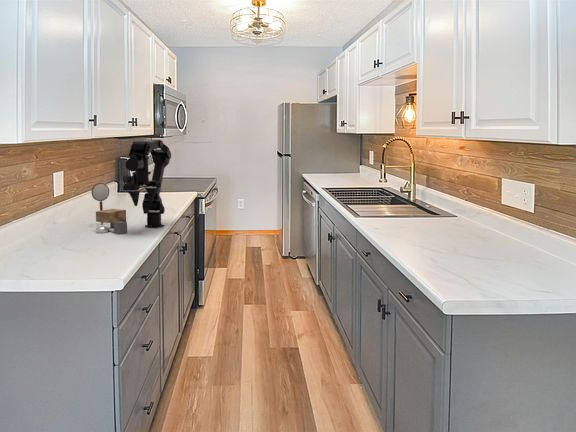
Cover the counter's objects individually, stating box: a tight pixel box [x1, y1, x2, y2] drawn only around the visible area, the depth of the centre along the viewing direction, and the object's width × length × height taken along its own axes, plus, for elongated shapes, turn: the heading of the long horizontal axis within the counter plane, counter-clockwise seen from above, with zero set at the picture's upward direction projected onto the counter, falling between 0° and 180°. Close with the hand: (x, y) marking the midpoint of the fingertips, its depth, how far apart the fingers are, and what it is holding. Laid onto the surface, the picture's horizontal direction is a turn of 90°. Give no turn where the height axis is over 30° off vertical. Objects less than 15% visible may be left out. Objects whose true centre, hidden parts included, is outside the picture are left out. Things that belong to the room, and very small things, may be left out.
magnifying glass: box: [91, 182, 110, 225], centre depth 257 cm, size 9×2×20 cm, turn 132°
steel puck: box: [95, 225, 109, 234], centre depth 239 cm, size 5×5×2 cm
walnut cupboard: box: [95, 208, 127, 229], centre depth 246 cm, size 11×8×9 cm
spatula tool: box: [108, 221, 128, 235], centre depth 240 cm, size 4×13×5 cm, turn 57°
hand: (143, 204), depth 241 cm, fingers open, 9 cm apart
